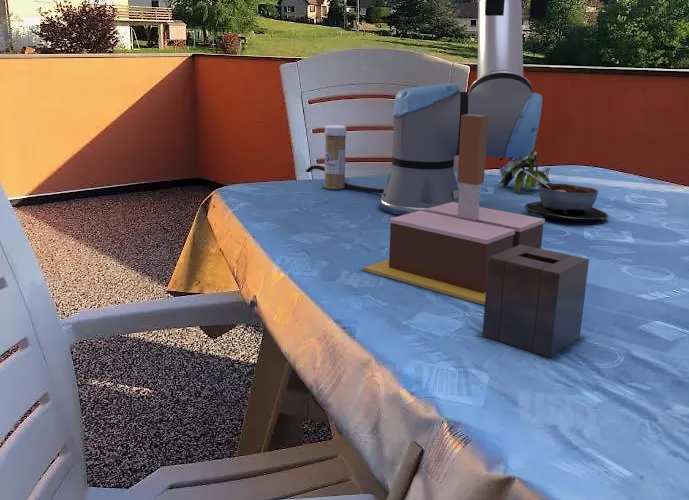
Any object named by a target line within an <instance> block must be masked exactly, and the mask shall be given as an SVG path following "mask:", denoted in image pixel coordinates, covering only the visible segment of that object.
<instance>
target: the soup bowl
mask: <svg viewBox="0 0 689 500" xmlns="http://www.w3.org/2000/svg"><path fill="white" fill-rule="evenodd" d="M524 172H525V173H527V174H529V175H530V176H532V177H533V178H535V179H536V180H537V181H538V182H539V184H540V185H539V186H538V188H539V189H538V190H539V191H538V192H539V198H540V200H539V201H533V202H527V203H526V204H524V208H525V210H526V211H527V212H528V213H530V214H531V213H535V214H537V215H539V216H542V217H544V218H548V219H554V220H558V221H560V220H561V221H568V222H593V221H600V220H606V219H607V218H609V214H608V213H607V212H606V211H603V210H601V209H598V208H597V207H593V206H594V204H595V202H596V200H597V198H598V196H599V195H598V194H599V189H595V188H593V187H588V186H581V185H575V184H567V183H566V184H565V183H553V182H550V183H549V182H547V183H544V181H543V180H542V179H540V180H539V179H538V178H536V177H535V176H534V175H532V174H531V173H529V172H528V171H524Z"/></svg>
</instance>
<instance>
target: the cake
mask: <svg viewBox="0 0 689 500" xmlns="http://www.w3.org/2000/svg"><path fill="white" fill-rule="evenodd" d="M457 216H458V203H456V202H450V203H446V204H443V205H439V206H435V207H431V208H428V209H426V212H425V211H416V212H413V213H409V214H405V215H398V216H395V217H390V218H389V223H390V228H389V229H390V231H389V232H390V233H389V252H388V253H389V254H388V255H389V256H388V259H385V260H382V261H379V262H376V263H373V264H370V265H367V266H364V267H363V271H364V272H367V273H371V274H375V275H378V276H381V277H383V278H388V279H391V280H396V281H399V282H402V283H406V284H410V285H413V286H416V287H420V288H424V289H427V290H430V291H434V292H437V293H441V294H444V295H448V296H451V297H455V298H458V299H462V300H465V301H469V302H472V303H476V304H479V305H483V306H485V295H486V283H487V270H488V258H489V257H490V256H493V255H495V254H498V253H500V252H503V251H505V250H508V249H511V248H513V247H516V246H518V245H526V246H530V247H535V248H540V249H542V241H543V233H544V224H545V223H546V218H542V217H536V216H530V215H525V214H520V213H515V212H511V211H510V212H509V211H504V210H499V209H492V208H488V207H482V206H479V217H478V222H474V221H469V220H464V219H459V218H457Z"/></svg>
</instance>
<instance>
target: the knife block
mask: <svg viewBox="0 0 689 500" xmlns="http://www.w3.org/2000/svg"><path fill="white" fill-rule="evenodd" d="M589 263H590V259H589V258H585V257H581V256H577V255H571V254H567V253H564V252H563V253H562V252H558V251H555V250H554V251H553V250H549V249H543V248H541V249H540V248H535V247H530V246H526V245H518V246H516V247H513V248H511V249H508V250H505V251H503V252H500V253H498V254H495V255H493V256H490V257H489V258H488V270H487V283H486V295H485V305H484V308H483V309H484V310H483V320H482V321H483V322H482V332H481V333H482V334H481V335H482V337H483V338H484V337H485V338H488V339H490V340H494V341H496V342H500V343H503V344H506V345H509V346H513V347H516V348H517V349H518V348H519V349H522V350H525V351H527V352H531V353H534V354H536V355H541V356H544V357H547V358H550V359H551V358H552V357H554V356H555V355H557V354H558V353H560V352H561V351H563V350H565V349H566V348H567V347H569V346H571V344H573V343H575V342H576V341H577V340H579V339H580V338H581V329H582V321H583V314H584V304H585V296H586V289H587V282H588V281H587V280H588V272H589Z"/></svg>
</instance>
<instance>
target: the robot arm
mask: <svg viewBox="0 0 689 500" xmlns="http://www.w3.org/2000/svg"><path fill="white" fill-rule="evenodd" d="M476 2H477V71H476V72H477V73H476V74H477V75H476V77H477V78H476V79H475V81H473V83H472V84H471V85H470V86H469V91H460V90H461V88H460V87H459V84H458V83H437V84H428V85H420V86H413V87H407V88H402V89H401V90H400V91H398V92H397V93H396V95H395V98H394V106H393V107H394V108H393V113H392V118H393V130H392V131H393V132H392V133H393V134H392V150H391V151H392V152H391V155H392V156H391V169H390V171H389V175H388V178H387V180H386V183H385V185H384V188H376V187H367V186H361V185H355V184H349V183H347V182H344V185H345V188H344V189H349V190H353V191H359V192H367V193H374V194H381V197H380V209H382V210H383V211H384V212H386V213H389V214H392V215H398V216H401V215H405V214H409V213H413V212H416V211H425V212H426V209H428V208H431V207H435V206H439V205H443V204H446V203H450V202H456V203H458V201H459V187H458V182H457V179H456V178H457V177H456V174H455V170H454V169H455V157H456V156H458V157H459V145H460V129H461V115H466V114H474V115H485V116H489V118H488V131H487V144H486V157H487V158H500V157H505V158H504V159H510V157H526V156H528V155H529V154H530V153H531V152H532V150H533V148H534V145H536V141H537V136H538V131H539V127H540V121H541V115H542V108H543V95H541V93H537V92H533V87H532V83H531V81H529V79H528V78H527V77H526V76H524V51H523V50H524V49H523V48H524V47H523V46H524V44H523V43H524V42H523V8H522V7H523V6H522V4H523V3H522V0H476ZM548 10H549V0H530V5H529V17H528V18H529V19H531V20H537V19H539V20H547V19H548V12H549V11H548ZM486 157H485V158H486ZM313 170H319V171H322V172H325V166H322V165H319V164H318V165H311V166H308V168H306V170H305V172H307V173H310V172H311V171H313Z"/></svg>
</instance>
